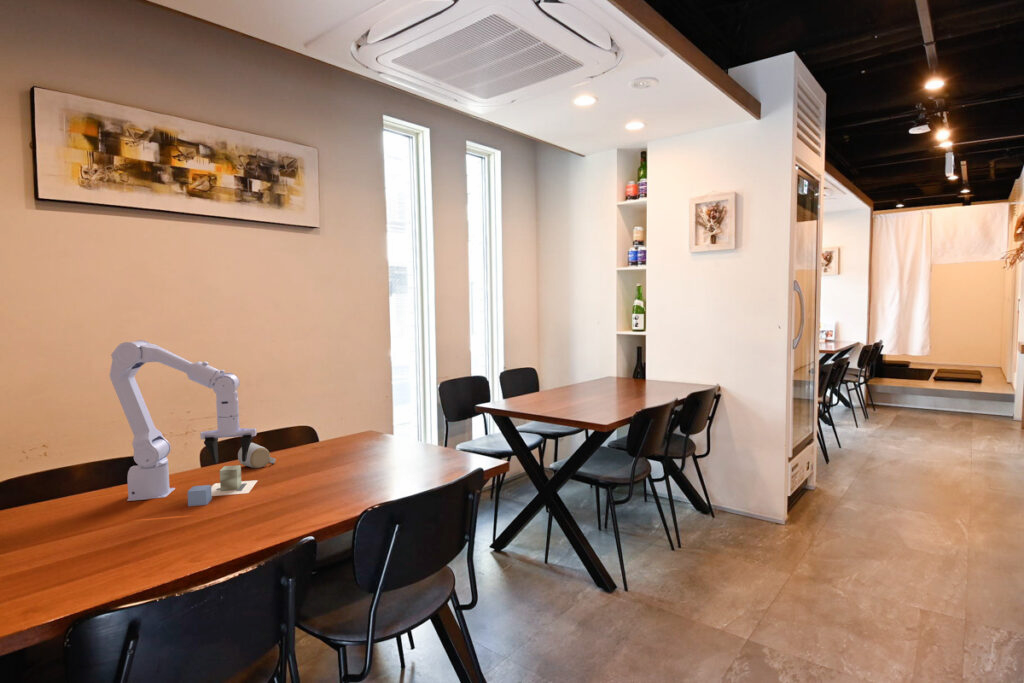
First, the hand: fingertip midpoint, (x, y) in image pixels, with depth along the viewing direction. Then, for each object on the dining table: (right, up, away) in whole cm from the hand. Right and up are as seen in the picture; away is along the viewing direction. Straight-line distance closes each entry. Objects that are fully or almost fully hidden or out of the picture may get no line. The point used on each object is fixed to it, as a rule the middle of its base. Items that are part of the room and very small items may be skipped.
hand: (230, 461), depth 162 cm
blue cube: (-2, -9, -11) cm, 15 cm away
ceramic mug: (-3, -7, +25) cm, 26 cm away
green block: (0, -8, 0) cm, 8 cm away
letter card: (0, -8, 0) cm, 8 cm away
